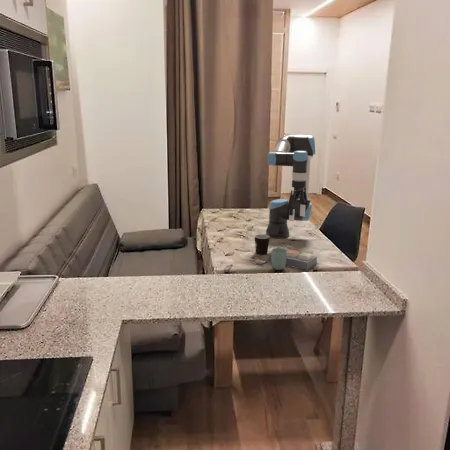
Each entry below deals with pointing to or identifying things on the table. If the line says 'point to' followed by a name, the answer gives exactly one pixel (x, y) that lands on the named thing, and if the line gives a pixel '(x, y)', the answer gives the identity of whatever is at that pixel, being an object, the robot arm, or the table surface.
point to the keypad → (299, 262)
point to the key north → (305, 256)
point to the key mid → (293, 253)
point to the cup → (278, 258)
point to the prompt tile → (260, 261)
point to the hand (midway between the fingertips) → (297, 218)
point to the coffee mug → (261, 244)
